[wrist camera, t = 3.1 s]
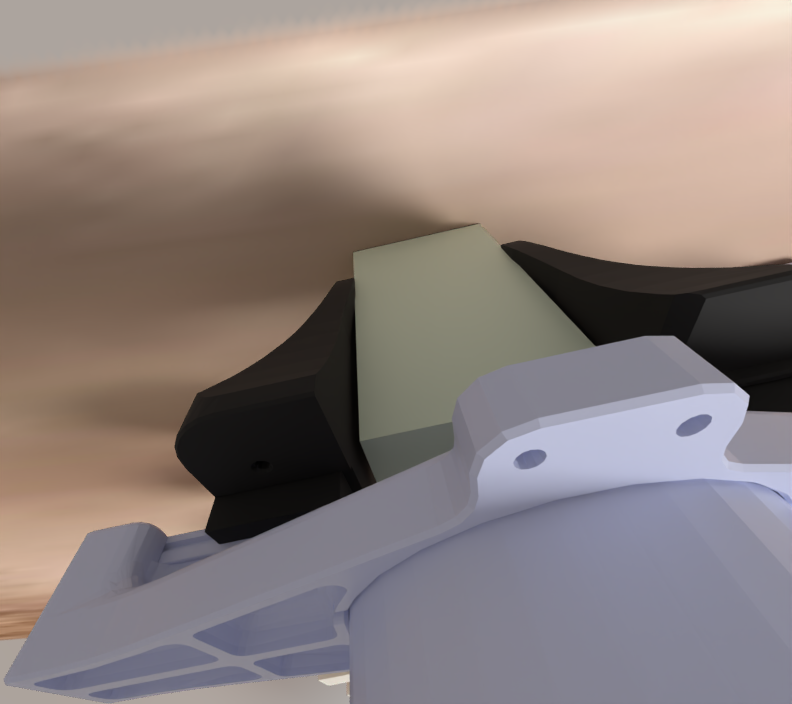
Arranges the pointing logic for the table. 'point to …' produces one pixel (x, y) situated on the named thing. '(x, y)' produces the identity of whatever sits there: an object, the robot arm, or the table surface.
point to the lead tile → (440, 337)
